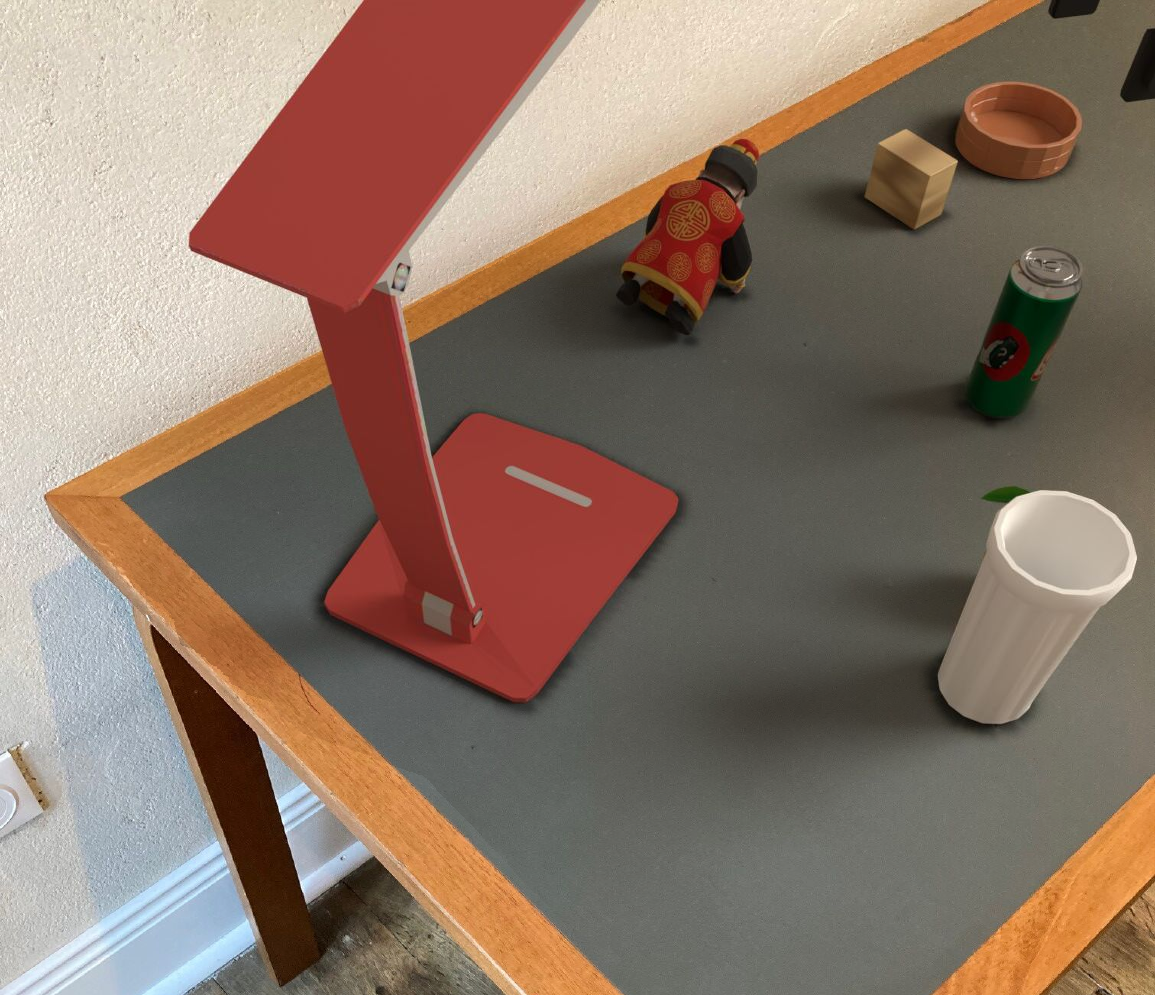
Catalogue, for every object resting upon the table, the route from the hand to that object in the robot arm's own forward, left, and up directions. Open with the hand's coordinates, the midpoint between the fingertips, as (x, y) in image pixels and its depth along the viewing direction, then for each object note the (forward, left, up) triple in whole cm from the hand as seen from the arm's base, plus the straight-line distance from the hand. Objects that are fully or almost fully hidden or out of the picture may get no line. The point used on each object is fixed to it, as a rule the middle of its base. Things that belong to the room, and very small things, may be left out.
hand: (1105, 54), depth 74 cm
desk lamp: (+9, +40, -24) cm, 48 cm away
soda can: (-4, +3, -24) cm, 24 cm away
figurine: (+21, +13, -24) cm, 34 cm away
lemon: (-17, +18, -24) cm, 34 cm away
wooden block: (+18, -10, -24) cm, 31 cm away
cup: (-21, +25, -24) cm, 40 cm away
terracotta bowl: (+18, -25, -24) cm, 39 cm away
